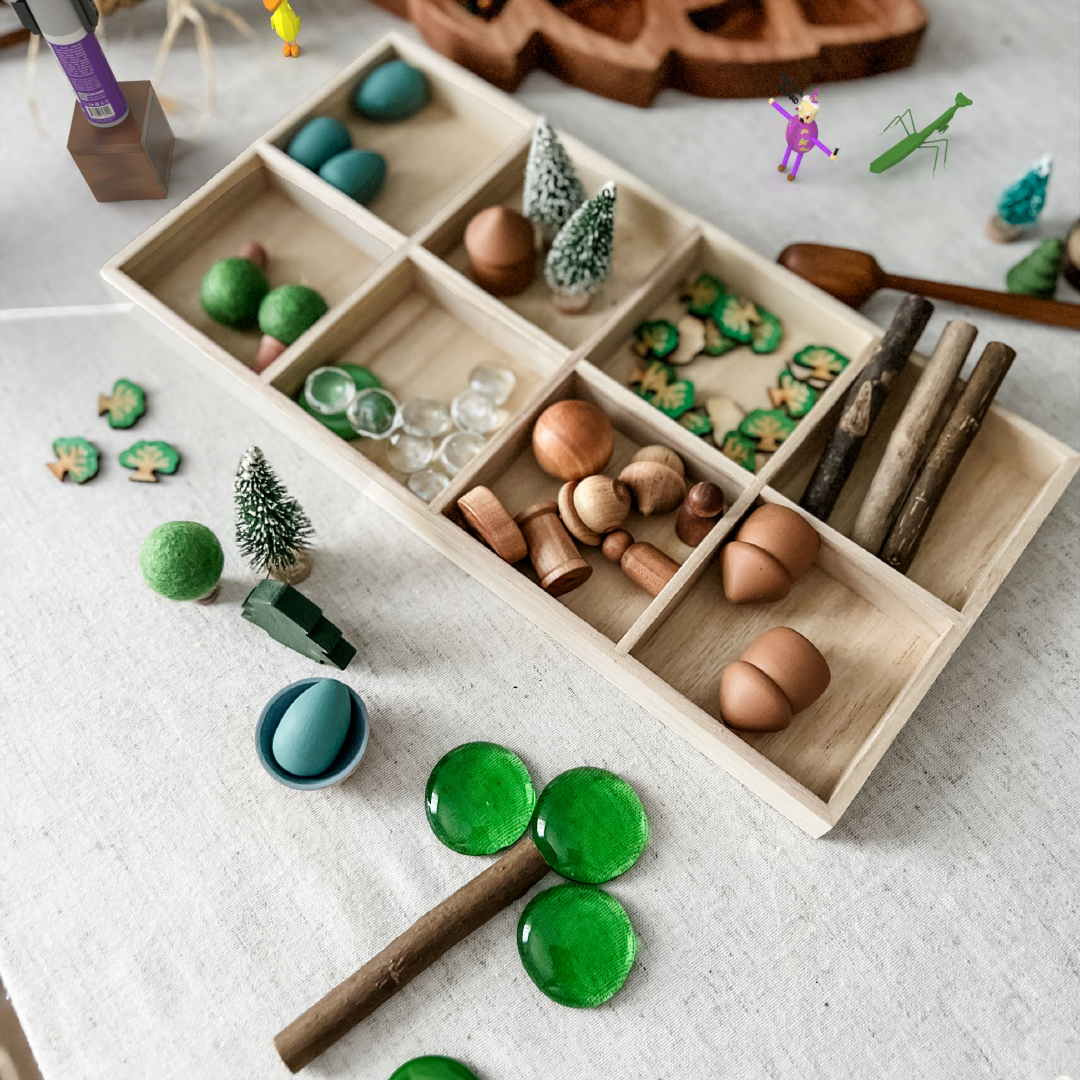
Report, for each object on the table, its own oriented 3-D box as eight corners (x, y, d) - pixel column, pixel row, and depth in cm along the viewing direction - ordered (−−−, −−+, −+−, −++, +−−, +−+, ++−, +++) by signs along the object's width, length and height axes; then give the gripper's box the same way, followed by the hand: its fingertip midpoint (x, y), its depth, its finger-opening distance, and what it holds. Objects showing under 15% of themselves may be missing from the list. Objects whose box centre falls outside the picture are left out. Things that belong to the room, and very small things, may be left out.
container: (138, 106, 105) (78, -24, 91) (111, 133, 103) (46, 5, 89) (104, 92, 105) (40, -38, 92) (77, 118, 104) (8, -11, 90)
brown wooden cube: (97, 202, 109) (66, 147, 102) (108, 139, 113) (78, 83, 106) (166, 198, 109) (140, 143, 102) (174, 136, 114) (150, 79, 106)
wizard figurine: (748, 150, 113) (771, 62, 102) (768, 139, 114) (793, 51, 103) (811, 208, 109) (841, 123, 98) (831, 196, 110) (864, 111, 99)
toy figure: (300, 71, 118) (276, -21, 108) (272, 69, 119) (245, -22, 108) (309, 35, 121) (287, -58, 110) (282, 33, 121) (257, -59, 110)
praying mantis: (981, 150, 113) (998, 118, 109) (894, 206, 109) (908, 176, 105) (924, 105, 116) (938, 73, 112) (837, 159, 112) (848, 128, 108)
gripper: (65, -185, 81) (141, 1, 97) (-103, -179, 81) (0, 7, 96) (52, -133, 78) (133, 50, 94) (-123, -126, 78) (-13, 57, 93)
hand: (65, 27), depth 95 cm, fingers closed on container, 4 cm apart
